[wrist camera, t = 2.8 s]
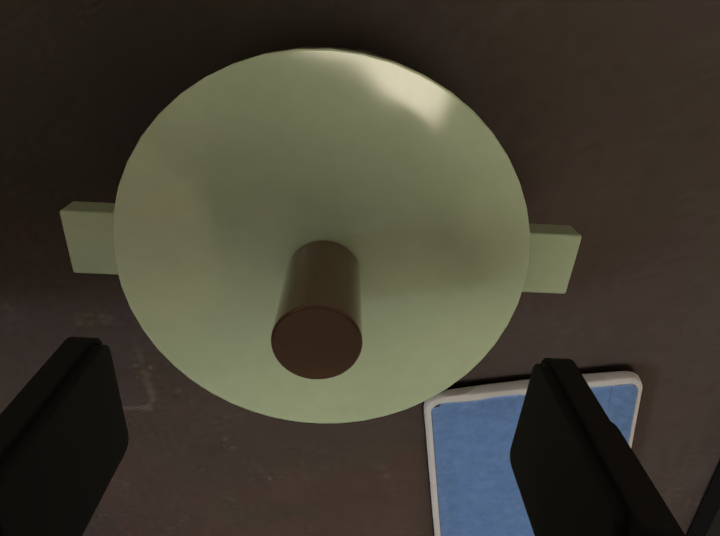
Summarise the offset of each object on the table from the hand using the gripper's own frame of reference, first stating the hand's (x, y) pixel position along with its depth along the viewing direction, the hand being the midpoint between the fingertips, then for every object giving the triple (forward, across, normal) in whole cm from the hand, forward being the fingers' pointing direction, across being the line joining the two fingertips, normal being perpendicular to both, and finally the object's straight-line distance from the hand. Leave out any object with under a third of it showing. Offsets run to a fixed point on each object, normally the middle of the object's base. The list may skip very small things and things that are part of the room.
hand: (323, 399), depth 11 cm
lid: (+7, 0, 0) cm, 7 cm away
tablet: (+14, -13, +20) cm, 28 cm away
